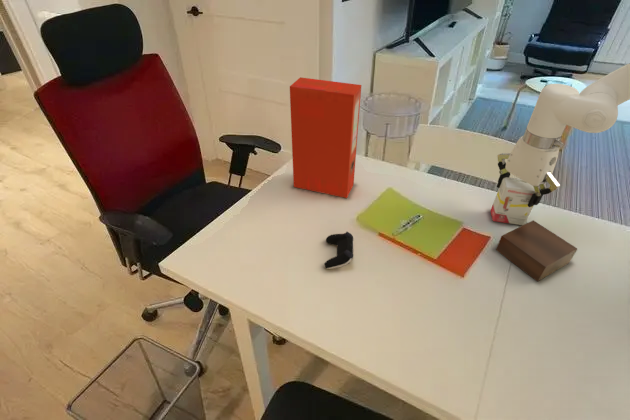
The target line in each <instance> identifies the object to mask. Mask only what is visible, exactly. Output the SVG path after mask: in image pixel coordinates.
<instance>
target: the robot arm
mask: <svg viewBox="0 0 630 420" xmlns="http://www.w3.org/2000/svg"><path fill="white" fill-rule="evenodd" d="M627 101H630V63H627V64H625V65H622V66H620V67H619V68H617V69H615V70H613V71H611V72H609V73H608V74H606V75H604V76H602V77H600V78H599V79H597V80H595V81H594V82H592V83H590V84H588V86H586V87H585V88H583V89H582V90H581V91H579V90H578V89H577V88H575V87H574V86H571V85H568V84H563V83H550V84H547V85H545V86H544V87H542V89H541V90H540V93H539V96H538V98H537V100H536V103H535V106H534V108H533V110H532V112H531V116H530V118H529V120H528V123H527V125H526V128H525V130H524V133H523V135H522V136H520V137H519V139H518V140H517V141H516V143H515V144H514V146H513V148H512V149H511V151H510V153H509V152H507V153H506V152H502V153H499V154H497V167H498V169H499V171H498V173H499V177H498V180H497V185H496V188H498V189H499V188H500V185H501V183H502V180H503V178H505V177H509V178H511V177H510V176H511V175H513V176H515V177H516V178H517V179H521V180H523V181H525V182H527V183H528V184H530V185H532V186H533V187H534V190H535V193H534V194H533V195H532V197H531V199H530V201H529V203H528V207H532V206H533V207H534V206H537V205H539V204H540V202H541V200H542V199H543V197H544V196H545V195H549V194H551V193H553V192H555V191H556V190H558V189H559V188H561V184H560V183H559V182H558V180H557V178H555V176H554V175H553V173H554V170H555V167H556V165H557V161H558V157H559V154H560V149H562V148H563V147H564V146H565V142H563V141H561V140H562V138H563V137H562V135H563V134H564V132H565V129H566V127H571V128H573V129H576V130H579V131H581V132H584V133H590V134H598V133H599V134H600V133H603V132H606V131H608V130H609V129H611V128H612V127H613V126H614V125H615V124H616V122H617V120H618V116H619V107H618V106H619V105H622V104H623V103H625V102H627ZM546 183H548V184H549V187H547V185H546Z"/></svg>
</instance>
